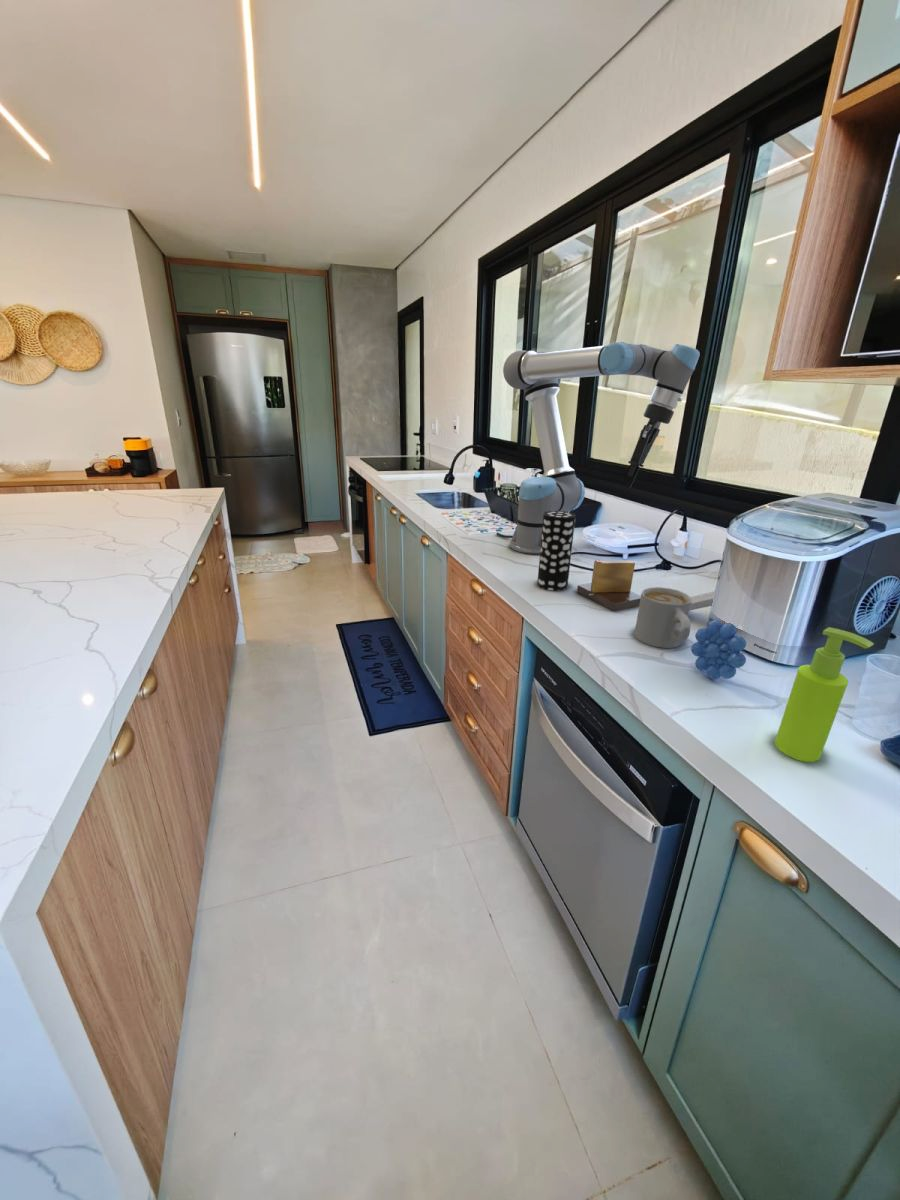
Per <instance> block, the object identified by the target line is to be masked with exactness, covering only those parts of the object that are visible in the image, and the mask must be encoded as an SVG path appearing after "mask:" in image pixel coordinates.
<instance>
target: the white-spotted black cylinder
mask: <svg viewBox="0 0 900 1200" xmlns="http://www.w3.org/2000/svg"><path fill="white" fill-rule="evenodd" d="M576 516H577V515H576V514H575V513H573V512H571V511H570V512H565V511H547V512H544V515H543V526H542V537H541V548H540V554H539V560H538V562H539V563H538V572H537V583H536V584H537V587H539V588H540V589H543V590H546V591H555V592H559V591H563V590H566V589H568V586H569V577H570V569H571V560H572V551H573V542H574V534H575V526H576Z"/></svg>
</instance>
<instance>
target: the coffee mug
mask: <svg viewBox="0 0 900 1200" xmlns="http://www.w3.org/2000/svg"><path fill="white" fill-rule="evenodd" d="M640 596H641V599H640V605H639V606H638V612H637V617H636V623H635V628H634V632H633V633H634V637H635V638H636V639H637V640H638V641H639V642H642V643H643V644H645V645H648V646H651V647H655V648H662V649H673V648H678V647H680V646H681V645H682V644H683V642H685V641H686V640H687V639H688V638H689V636H690V634H691V627H692V625H691V620H690V618H689V615H690V611H691V610H690V606H691V601H692V599H691V597H692V596H690V595H689V594H688V593H685V592H683V591H680V590H678V589H673V588H669V587H659V586H657V587H656V586H655V587H654V586H652V587H647V588H645V589H643V590H642V591H641V594H640ZM689 610H690V611H689Z"/></svg>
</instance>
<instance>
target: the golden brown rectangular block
mask: <svg viewBox="0 0 900 1200" xmlns="http://www.w3.org/2000/svg"><path fill="white" fill-rule="evenodd" d="M635 567H636V562H635V561H633V560H600V559H595V560H594V561H593V568H592V575H591V582H592V583H591V582H590V583H591V591H592V592H630V591H631V592H632V584H633V579H634V573H635Z"/></svg>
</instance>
